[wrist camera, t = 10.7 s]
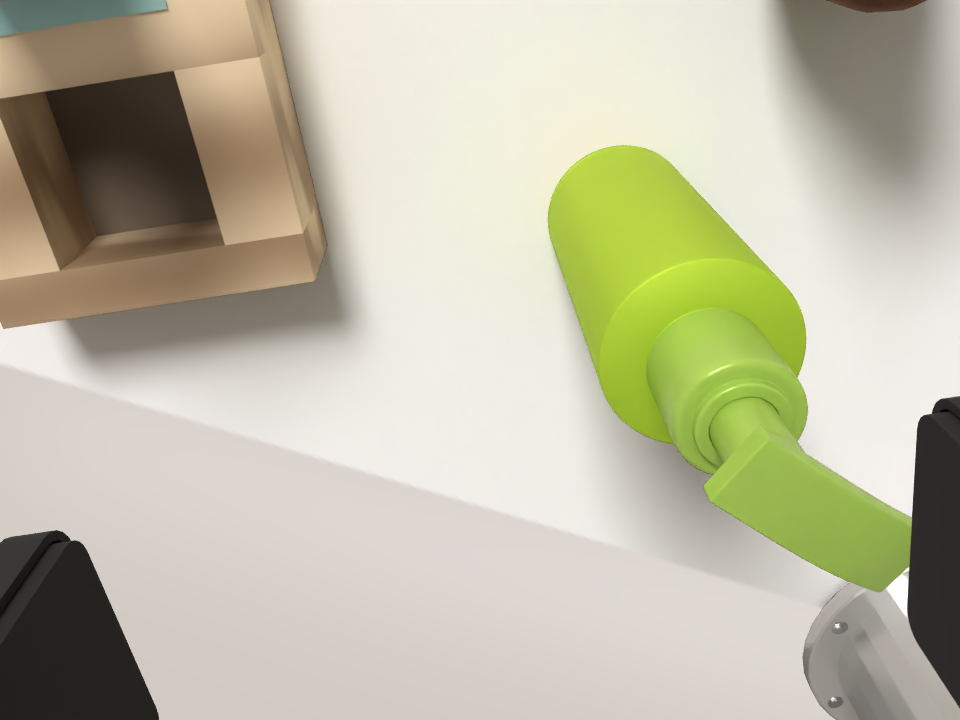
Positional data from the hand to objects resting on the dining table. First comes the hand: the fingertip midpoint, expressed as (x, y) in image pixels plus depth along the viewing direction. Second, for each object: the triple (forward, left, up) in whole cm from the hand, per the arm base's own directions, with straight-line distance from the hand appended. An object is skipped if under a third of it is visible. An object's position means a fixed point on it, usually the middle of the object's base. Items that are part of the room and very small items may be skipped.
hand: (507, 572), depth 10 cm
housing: (+4, +12, -27) cm, 30 cm away
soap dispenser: (-6, -6, -27) cm, 29 cm away
